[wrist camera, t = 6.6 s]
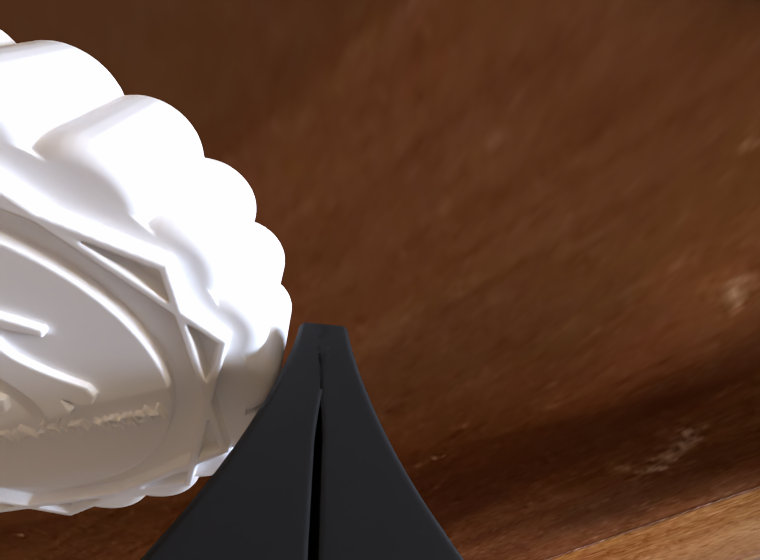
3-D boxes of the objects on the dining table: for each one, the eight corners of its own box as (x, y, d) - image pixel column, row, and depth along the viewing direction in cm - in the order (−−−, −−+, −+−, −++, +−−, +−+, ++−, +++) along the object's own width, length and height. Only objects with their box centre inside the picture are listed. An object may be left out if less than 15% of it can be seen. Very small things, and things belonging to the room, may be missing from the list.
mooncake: (186, -56, 7) (67, -92, 4) (333, 393, 14) (330, 499, 11) (-463, 64, 7) (-1006, 112, 4) (-2, 442, 14) (-91, 558, 11)
